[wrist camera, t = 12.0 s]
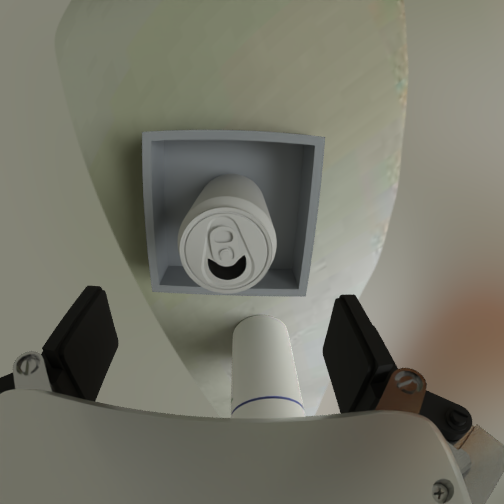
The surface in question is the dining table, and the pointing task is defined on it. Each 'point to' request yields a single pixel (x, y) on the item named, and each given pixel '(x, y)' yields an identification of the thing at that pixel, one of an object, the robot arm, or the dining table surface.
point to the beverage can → (227, 236)
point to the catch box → (242, 163)
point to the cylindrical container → (264, 371)
